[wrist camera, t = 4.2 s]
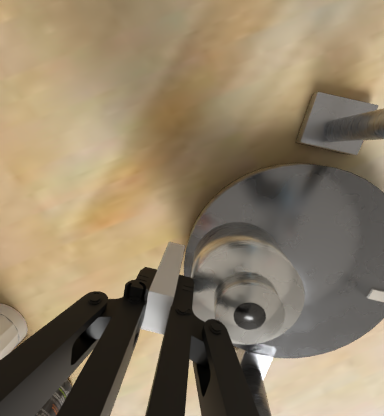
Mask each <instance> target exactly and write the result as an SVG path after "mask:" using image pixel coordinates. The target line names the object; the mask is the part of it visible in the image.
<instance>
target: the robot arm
mask: <svg viewBox="0 0 384 416" xmlns="http://www.w3.org/2000/svg"><path fill="white" fill-rule="evenodd" d="M184 250H185V245H181V244H177V243H173V242H169V243H168V245H167V248H166V250H165V252H164V255H163V257H162V260H161V262H160V265H159V267H158V270H156V269H152V268H148V267H145V268H143V269H142V270H141V271H140V272H139V274H138V276H137V278H136V280H131V281H129V282H127V283H126V284H125V290H124V296H123V297H122V298H119V299H108V297H107V295H106V294H105V293H103V292H90V293H88V294H86V295H85V296H83V297H82V298H81V299H79V300H78V301H77V302H75V303H74V304H73V305H72V306H70V307H69V308H68V309H66V310H65V311H64V312H62V313H61V314H60V315H59V316H57V317H56V318H55V319H53V320H52V321H51V322H49V323H48V324H47V325H45V326H44V327H43V328H42V329H40V330H39V331H38V332H36V333H35V334H34V335H32V336H31V337H30V338H28V339H27V340H26V341H25V342H23V343H22V344H21V345H19V346H18V347H17V348H15V349H14V350H13V351H12V352H10V353H9V354H8V355H6V356H5V357H4V358H2V359H1V360H0V416H35V415H36V414H37V412H38V411H39V410H40V409H41V408H42V407H43V406H44V405H45V403H46V402H47V401H48V400H49V399H50V398H51V397H52V395H53V394H54V393H55V392H56V391H57V390H58V389H59V388H60V386H61V385H62V384H63V383H64V382H65V381H66V380H67V379H68V377H69V376H70V375H71V374H72V373H73V372H74V371H75V369H76V368H77V367H78V366H79V365H80V364H81V363H82V362H83V360H84V359H85V358H86V357H87V356H88V355H89V354H90V353H91V351H92V350H93V349H94V350H93V351H92V353H91V355H90V357H89V358H88V360H87V362H86V364H85V365H84V367H83V369H82V371H81V373H80V374H79V376H78V378H77V380H76V381H75V383H74V385H73V387H72V389H71V390H70V392H69V394H68V396H67V397H66V399H65V401H64V403H63V405H62V406H61V408H60V410H59V412H58V413H57V415H56V416H110V414H111V411H112V408H113V406H114V403H115V400H116V397H117V395H118V392H119V389H120V386H121V384H122V381H123V378H124V375H125V373H126V370H127V367H128V364H129V362H130V359H131V356H132V353H133V351H134V348H135V345H136V342H137V340H138V337H139V332H140V328H141V329H143V330H147V331H152V332H155V333H160V334H164V338H163V342H162V346H161V350H160V354H159V359H158V363H157V367H156V372H155V376H154V380H153V385H152V389H151V393H150V398H149V402H148V406H147V411H146V415H145V416H185V404H186V392H187V380H188V368H189V359H190V360H192V361H193V367H194V373H195V379H196V385H197V391H198V397H199V403H200V409H201V415H202V416H259V413H258V410H257V408H256V405H255V402H254V400H253V397H252V394H251V392H250V389H249V386H248V384H247V381H246V378H245V376H244V373H243V370H242V368H241V365H240V363H239V360H238V357H237V355H236V352H235V349H234V347H233V344H232V341H231V339H230V336H229V333H228V331H227V328H226V327H225V325H224V324H223V323H222V322H220V321H218V320H216V319H208V320H207V321H206V322H204V321H202V320H201V319H199V318H198V317H197V316H195V314H194V313H193V310H192V304H193V292H194V281H193V279H192V278H191V277H187V276H182V275H179V273H180V268H181V263H182V259H183V254H184Z"/></svg>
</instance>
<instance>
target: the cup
mask: <svg viewBox="0 0 384 416" xmlns="http://www.w3.org/2000/svg"><path fill="white" fill-rule="evenodd" d="M27 330H28V328H27V323H26V321H25V319H24V318H23V316H22V315H21V314H20V313H19V312H18V311H17V310H15V309H14V308H12V307H10V306H8V305H5V304H0V360H1V359H2V358H4V357H5V356H6V355H8V354H9V353H10V352H11V351H12V350H13V349H14V348H15V347H16V346H17V345H18V344H19V343H20V342H21V341H22V340H23V339H24V338H25V336H26V334H27Z"/></svg>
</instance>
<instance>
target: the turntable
mask: <svg viewBox="0 0 384 416" xmlns="http://www.w3.org/2000/svg"><path fill="white" fill-rule="evenodd" d="M231 222H244V223H249V224H253V225H256V226H258V227H260V228H262V229H263V230H265V231H266V232H267V233H268V234H270V235H271V237H272V238H273V239H274V240H275V242H276V243H277V244H278V246H279V247H280V249H281V250H282V251H283V253H284V254H285V255H286V257H287V258H288V260H289V261H290V262H291V264H292V265H293V267H294V268H295V269H296V271H297V272H298V274H299V275H300V278H301V280H302V282H303V286H304V291H305V301H304V306H303V309H302V312H301V314H300V316H299V318H298V319H297V321H296V322H295V323H294V325H293V326H292V327H291V328H290V329H288V330H287V331H286V332H285V333H283V334H282V335H280V336H278V337H276V338H274V339H272V340H269V341H266V342H263V343H258V344H249V345H243V344H234V343H232V344H233V346H235V347H237V348H238V350H237V353H236V355H237V357H238V360H239V363H240V365H241V368H242V370H243V373H244V376H245V378H246V381H247V384H248V386H249V389H250V392H251V394H252V397H253V400H254V402H255V405H256V408H257V410H258V413H259V416H271V413H270V408H269V404H268V400H267V396H266V391H265V387H264V383H263V380H264V377H265V375H266V373H267V370H268V368H269V366H270V363H271V361H272V359H273V357H275V358H302V357H310V356H315V355H319V354H324V353H327V352H330V351H333V350H336V349H338V348H341V347H343V346H345V345H348V344H350V343H351V342H353V341H355V340H357V339H358V338H360V337H362V336H363V335H364V334H366V333H367V332H369V331H370V330H371V329H373V328H374V327H375V326H376V325H377V324H378V323H379V322H380V321H381V320H382V319H383V318H384V193H383V192H382V191H381V190H380V189H379V188H377V187H376V186H374V185H373V184H371V183H370V182H368V181H367V180H365V179H363V178H361V177H359V176H357V175H355V174H353V173H351V172H347V171H344V170H341V169H337V168H333V167H327V166H320V165H314V164H304V163H290V164H281V165H275V166H270V167H266V168H262V169H259V170H257V171H254V172H251V173H248V174H247V175H245V176H243V177H241V178H239V179H237V180H235V181H234V182H232V183H231V184H229V185H228V186H226V187H225V188H223V189H222V190H221V191H220V192H219V193H218V194H217V195H216V196H214V197H213V198H212V199H211V201H210V202H209V203H208V204H207V205H206V206H205V208H204V209H203V210H202V212H201V213H200V215H199V217H198V218H197V220H196V222H195V224H194V226H193V228H192V230H191V234H190V237H189V240H188V244H187V249H186V254H185V261H184V276H187V277H191V273H192V265H193V258H194V252H195V249H196V247H197V245H198V243H199V242H200V240H201V239H202V238H203V236H204V235H205V234H207V233H208V232H209V231H210V230H212V229H213V228H215V227H217V226H220V225H223V224H226V223H231Z"/></svg>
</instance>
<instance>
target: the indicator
mask: <svg viewBox="0 0 384 416" xmlns="http://www.w3.org/2000/svg"><path fill="white" fill-rule="evenodd" d="M377 108H378V105H374V104H370V103H365V102H361V101H357V100H352V99H348V98H343V97H339V96H334V95H330V94H326V93H321V92H317V93H315V94H313V95H312V97H311V100H310V103H309V106H308V109H307V112H306V114H305V117H304V120H303V123H302V126H301V129H300V132H299V135H298V138H297V141H296V143H301V144H305V145H309V146H314V147H318V148H322V149H327V150H331V151H336V152H340V153H344V154H349V155H357V154H358V152H359V150H360V147H361V145H362V143H363V140H378V139H384V109H379V110H377Z"/></svg>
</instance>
